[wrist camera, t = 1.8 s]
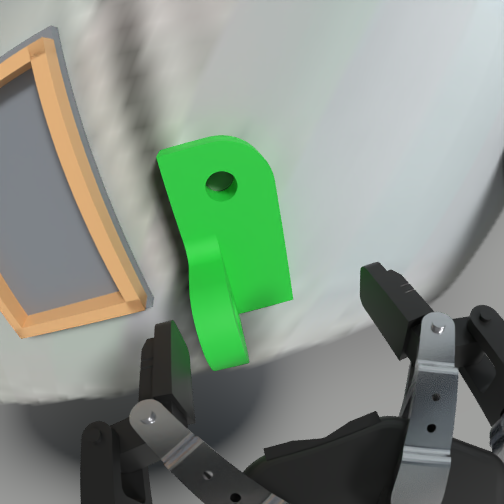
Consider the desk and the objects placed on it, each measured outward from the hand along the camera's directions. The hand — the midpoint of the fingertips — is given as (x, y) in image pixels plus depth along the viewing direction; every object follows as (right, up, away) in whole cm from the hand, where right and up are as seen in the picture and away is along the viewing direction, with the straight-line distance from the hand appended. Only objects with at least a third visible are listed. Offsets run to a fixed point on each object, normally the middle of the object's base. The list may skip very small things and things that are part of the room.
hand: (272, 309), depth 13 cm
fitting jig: (-16, +6, +4) cm, 17 cm away
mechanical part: (-2, +4, +8) cm, 9 cm away
